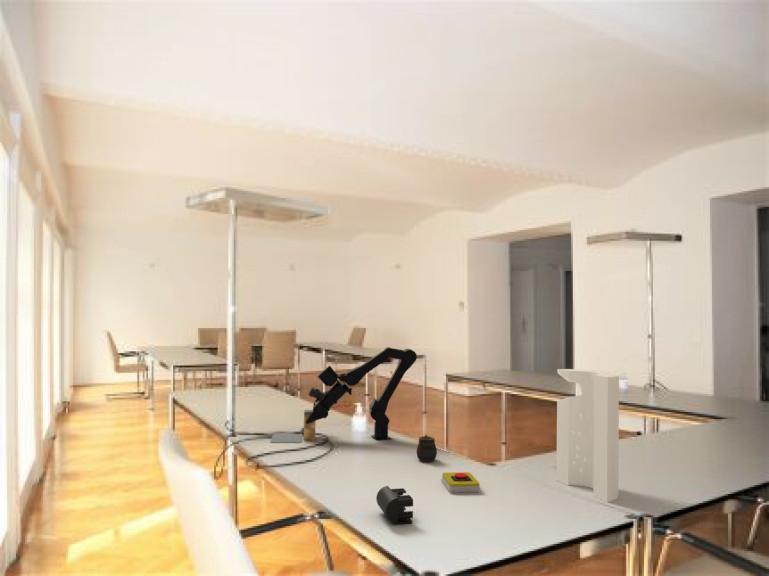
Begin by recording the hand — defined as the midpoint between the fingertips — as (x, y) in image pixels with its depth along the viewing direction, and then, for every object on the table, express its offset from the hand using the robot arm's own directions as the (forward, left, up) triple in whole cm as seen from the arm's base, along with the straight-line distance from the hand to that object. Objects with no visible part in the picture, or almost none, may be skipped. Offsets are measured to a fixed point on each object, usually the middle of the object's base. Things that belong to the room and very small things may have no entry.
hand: (306, 421), depth 226 cm
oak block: (0, -1, -7) cm, 7 cm away
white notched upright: (-88, -66, -7) cm, 111 cm away
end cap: (-90, 0, -7) cm, 91 cm away
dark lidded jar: (-44, -32, -7) cm, 55 cm away
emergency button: (-73, -29, -7) cm, 79 cm away
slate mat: (+2, +7, -7) cm, 10 cm away
